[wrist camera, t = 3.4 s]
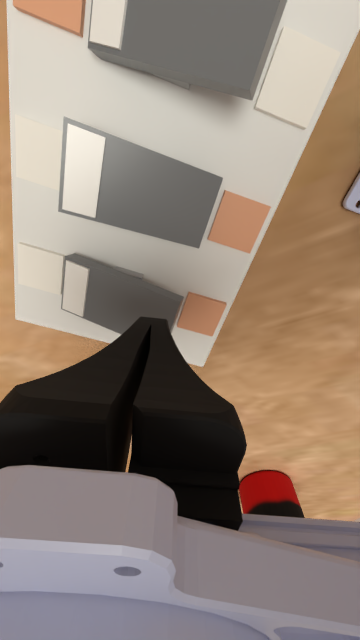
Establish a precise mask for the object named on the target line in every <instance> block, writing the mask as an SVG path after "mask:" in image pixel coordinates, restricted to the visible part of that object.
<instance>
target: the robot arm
mask: <svg viewBox="0 0 360 640" xmlns="http://www.w3.org/2000/svg"><path fill="white" fill-rule="evenodd" d="M359 200H360V173H359V175H358V176H357V178H356V180H355V182H354V183H353V185H352V187H351V188H350V190H349V192H348V194H347V195H346V197H345V199H344V201H343V206H344V208H345V209H348V210H350V211H353V212H356V213H358V214H360V205H359V206H358V207H356V203H357V202H358V201H359ZM131 436H132V453H131V460H130V465H129V470H128V473H125V471H126V465H127V459H128V453H129V448H130V442H131ZM246 446H247V444H246V439H245V434H244V431H243V428H242V425H241V422H240V420H239V417H238V415H237V413H236V410H235V408H234V406H233V405H232V404H230V403H229V402H228V401H226V400H225V399H224V398H222V397H221V396H220V395H218V394H217V393H216V392H214V391H213V390H212V389H211V388H210V387H209V386H207V385H206V384H205V383H204V382H203V381H202V380H201V379H200V378H199V377H198V376H197V375H196V373H195V372H194V371H193V370H192V369H191V367H190V366H189V365H188V363H187V362H186V361H185V359H184V358H183V356H182V354H181V353H180V351H179V349H178V347H177V346H176V344H175V341H174V339H173V337H172V335H171V332H170V329H169V325H168V321H167V320H166V319H161V318H152V317H142V316H141V317H139V318H138V319H137V320H136V321H135V322H134V323H133V324H132V325H131V326H130V327H129V328H128V329H127V330H126V331H125V332H124V333H123V334H122V335H120V336H119V337H118V338H117V339H116V340H114V341H113V342H112V343H111V344H109V345H108V346H107V347H105V348H104V349H102V350H101V351H99V352H98V353H96V354H94V355H93V356H91V357H89V358H87V359H85V360H83V361H81V362H79V363H77V364H75V365H73V366H71V367H68V368H66V369H64V370H61V371H59V372H56V373H54V374H51V375H48V376H45V377H42V378H39V379H36V380H33V381H30V382H27V383H23V384H20V385H16V386H15V387H14V388H13V389H12V390H11V391H10V392H9V394H8V395H7V396H6V397H5V398H4V399H3V400H2V402H1V403H0V640H360V522H352V521H338V520H324V519H310V518H296V517H282V516H268V515H254V514H242V513H241V507H240V502H239V496H238V489H239V485H240V484H239V478H238V473H237V472H238V469H239V467H240V464H241V462H242V459H243V457H244V455H245V451H246Z"/></svg>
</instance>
